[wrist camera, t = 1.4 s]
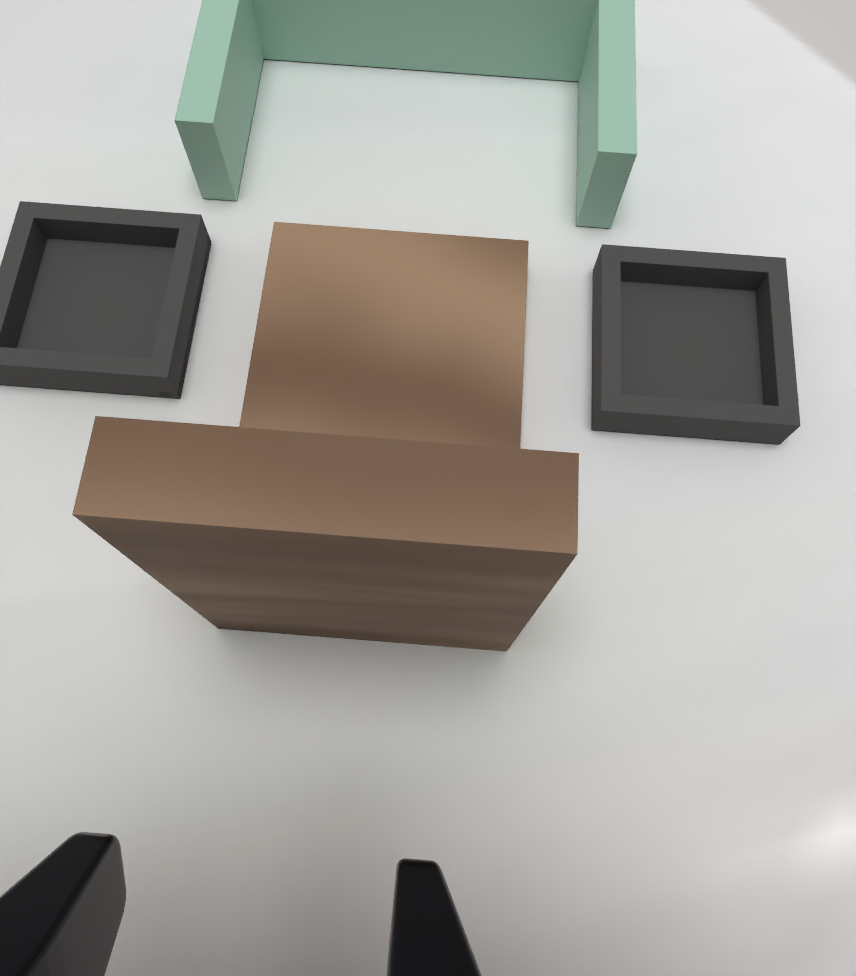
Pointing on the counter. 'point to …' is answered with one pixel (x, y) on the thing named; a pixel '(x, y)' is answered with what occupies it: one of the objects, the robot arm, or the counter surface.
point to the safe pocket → (418, 46)
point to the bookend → (356, 455)
